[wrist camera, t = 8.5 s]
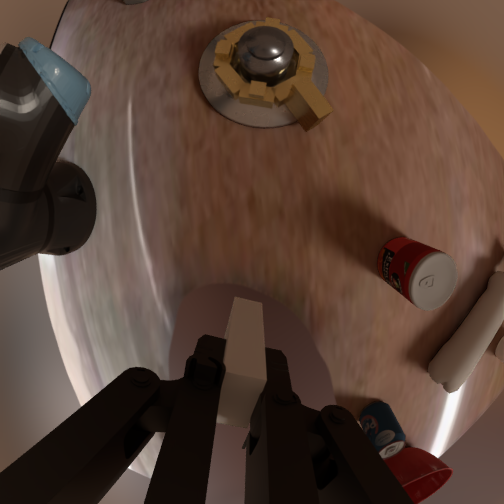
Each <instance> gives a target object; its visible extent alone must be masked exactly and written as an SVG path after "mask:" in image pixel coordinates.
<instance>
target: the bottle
mask: <svg viewBox="0 0 504 504" xmlns="http://www.w3.org/2000/svg"><path fill="white" fill-rule="evenodd" d="M503 320H504V272H501V271H497V272H496V273H495V274H493V275H492V276H491V277H490V278H489V281H488V288H487V290H486V291H485V292H484V293H483V294H482V295H481V297H480V298H479V299H478V301H477V302H476V304H475V305H474V307H473V308H472V310H471V311H470V313H469V314H468V316H467V317H466V318H465V320H464V321H463V322H462V324H461V325H460V327H459V328H458V329H457V331H456V332H455V333H454V334H453V336H452V337H451V338H450V339H449V341H448V342H446V343H445V344H444V345H443V346H442V348H441V349H440V350H439V352H438V353H437V354H436V356H435V357H434V358H433V359H432V361H431V362H430V363H429V366H428V371H427V372H428V373H429V374H430V375H429V376H430V377H431V378H432V380H434V381H435V382H436V383H437V384H438V383H441V384H442V385H443V388H444V389H445V390H446V391H447V392H448V393H452V392H454V391H457V390H458V389H459V388H460V387H461V385H462V384H463V383H464V382H465V381H466V379H467V378H468V377H469V376H470V374H471V373H472V372H473V370H474V368H475V366H476V364H477V363H478V361H479V360H480V358H481V357H482V355H483V354H484V352H485V351H486V349H487V347H488V346H489V344H490V343H491V341H492V339H493V338H494V336H495V334H496V333H497V331H498V329H499V327H500V325H501V324H502V322H503Z"/></svg>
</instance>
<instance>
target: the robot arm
mask: <svg viewBox="0 0 504 504" xmlns="http://www.w3.org/2000/svg"><path fill="white" fill-rule="evenodd" d="M18 46H19V47H15V46H13V45H10V44H8V43H6V42H5V43H3V44H1V45H0V270H2V269H4V268H6V267H8V266H11V265H13V264H15V263H17V262H20V261H22V260H24V259H26V258H29V257H31V256H33V255H36V254H38V253H40V254H49V255H66V254H69V253H71V252H73V251H75V250H77V249H79V248H80V247H82V246H83V245H84V244H85V242H86V241H87V240H88V238H89V237H90V235H91V232H92V230H93V227H94V224H95V219H96V197H95V192H94V188H93V186H92V183H91V181H90V179H89V177H88V176H87V174H86V173H85V172H84V171H83V170H82V169H81V168H80V167H79V166H77V165H75V164H73V163H69V162H56V160H57V158H58V156H59V154H60V152H61V150H62V148H63V146H64V144H65V142H66V140H67V139H68V137H69V135H70V133H71V131H72V130H73V128H74V126H76V125H77V123H78V118H79V116H80V114H81V112H82V110H83V109H84V107H85V105H86V103H87V102H88V100H89V98H90V95H91V85H90V83H89V81H88V80H87V79H86V78H85V77H84V76H83V75H82V74H81V73H80V72H79V71H77V70H76V69H75V68H74V67H73V66H71V65H70V64H69V63H68V62H66V61H65V60H64V59H63V58H61V57H60V56H59V55H57V54H56V53H54V52H53V51H52V50H50V49H49V48H47V47H45V46H44V45H42V44H41V43H39V42H38V41H37V40H35V39H33V38H31V37H26V38H25V39H24V40H22V41H21V42H20V43H19V44H18ZM288 371H289V370H288V366H287V359H286V356H285V355H284V354H283V353H282V351H281V350H276V349H271V348H266V347H265V343H264V328H263V313H262V303H259V302H255V301H250V300H246V299H242V298H238V297H235V299H234V303H233V306H232V310H231V314H230V318H229V322H228V326H227V329H226V334H225V337H224V339H222V338H218V337H214V336H210V335H206V334H205V335H203V336H202V337H201V338H199V339H198V342H197V345H196V348H195V351H194V354H193V355H192V356H190V357H189V358H188V359H187V361H186V367H185V373H184V377H183V378H180V379H178V380H172V381H166V380H160V379H159V377H158V376H157V374H156V373H154V372H153V371H151V370H149V369H146V368H142V367H133V368H129V369H127V370H125V371H124V372H123V373H121V374H120V375H119V376H118V377H117V378H116V379H114V380H113V381H112V382H111V383H110V384H108V385H107V386H106V387H105V388H104V389H102V390H101V391H100V392H99V393H98V394H96V395H95V396H94V397H93V398H91V399H90V400H89V401H88V402H87V403H85V404H84V405H83V406H82V407H81V408H80V409H78V410H77V411H76V412H75V413H73V414H72V415H71V416H70V417H69V418H67V419H66V420H65V421H64V422H62V423H61V424H60V425H59V426H58V427H56V428H55V429H54V430H53V431H51V432H50V433H49V434H48V435H47V436H45V437H44V438H43V439H42V440H41V441H39V442H38V443H37V444H36V445H34V446H33V447H32V448H31V449H29V450H28V451H27V452H26V453H24V454H23V455H22V456H21V457H20V458H18V459H17V460H16V461H15V462H13V463H12V464H11V465H10V466H8V467H7V468H6V469H5V470H3V471H2V472H1V473H0V504H98V503H99V502H100V500H101V499H102V498H103V497H104V496H105V494H106V493H107V492H108V491H109V490H110V489H111V487H112V486H113V485H114V484H115V483H116V481H117V480H118V479H119V478H120V477H121V475H122V474H123V473H124V472H125V470H126V469H127V468H128V467H129V466H130V464H131V463H132V462H133V461H134V459H135V458H136V457H137V456H138V454H139V453H140V452H141V451H142V449H143V448H144V447H145V446H146V444H147V443H148V442H149V441H150V439H151V438H152V437H153V436H154V434H155V432H166V433H165V436H164V439H163V442H162V445H161V449H160V452H159V455H158V458H157V461H156V465H155V468H154V471H153V474H152V478H151V481H150V484H149V488H148V491H147V495H146V498H145V501H144V504H205V500H206V493H207V484H208V478H209V470H210V463H211V455H212V448H213V441H214V435H215V427H216V422H217V423H221V424H226V425H232V426H237V427H243V428H247V427H248V425H249V423H250V431H249V433H248V435H247V437H246V440H245V442H244V444H243V447H242V449H245V447H246V475H245V504H414V502H413V501H412V499H411V498H410V497H409V495H408V494H407V492H406V491H405V490H404V488H403V487H402V485H401V484H400V482H399V481H398V480H397V478H396V477H395V475H394V474H393V473H392V471H391V470H390V468H389V467H388V465H387V464H386V463H385V461H384V460H383V458H382V457H381V456H380V454H379V453H378V451H377V450H376V448H375V447H374V446H373V444H372V443H371V441H370V440H369V438H368V437H367V436H366V434H365V433H364V431H363V430H362V428H361V427H360V425H359V424H358V423H357V421H356V420H355V418H354V417H353V415H352V414H351V413H350V412H349V411H348V410H346V409H345V408H343V407H341V406H337V405H328V406H325V407H324V408H323V409H322V410H321V411H317V410H314V409H311V408H309V407H306V406H304V405H302V404H301V401H300V399H299V397H298V395H297V394H295V393H294V392H293V391H292V387H291V381H290V376H289V372H288Z"/></svg>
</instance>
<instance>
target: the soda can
mask: <svg viewBox="0 0 504 504" xmlns="http://www.w3.org/2000/svg"><path fill="white" fill-rule="evenodd" d="M359 421H360V424H361V426H362V429H363V431H364V433H365V434H366V436H367V437H368V438H369V440H370V441H371V443H372V444H373V446H374V447H375V448H376V450H377V451H378V453H379V454H380V456H381V457H382V458H383V460H385V459H389V458H391V457H393V456H395V455H397V454H398V453H400V452H401V451H402V450H403V449H404V447H405V445H406V443H405V434H404V432H403V430H402V428H401V426H400V425H399V423H398V421H397V419H396V417H395V415H394V413H393V411H392V410H391V408H390V406H389V405H388V404H386V403H384V402H374V403H371V404H369V405H368V406H366V407H365V408H364V409H363V410H362V412H361V415H360V419H359Z"/></svg>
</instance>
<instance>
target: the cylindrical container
mask: <svg viewBox="0 0 504 504" xmlns="http://www.w3.org/2000/svg"><path fill="white" fill-rule="evenodd" d="M495 356H496V357H497V358H498V359H499V360H501V361H502V362H503V363H504V336H503V337H502V339H501V340H500V342H499V343H498V345H497V348H496V351H495Z"/></svg>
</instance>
